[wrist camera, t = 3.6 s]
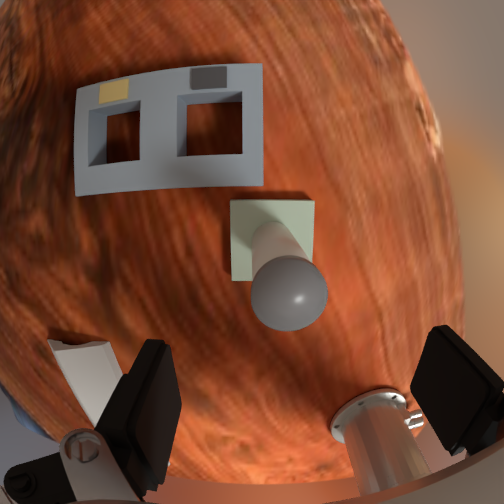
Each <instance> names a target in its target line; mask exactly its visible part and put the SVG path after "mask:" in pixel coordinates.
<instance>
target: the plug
mask: <svg viewBox="0 0 504 504" xmlns="http://www.w3.org/2000/svg"><path fill="white" fill-rule="evenodd" d="M327 298H328V289H327V284H326V282H325V279H324V278H323V276H322V274H321V273H320V271H319V270H318V269H317V267H316V266H315V265H314V264H313V263H311V261H310V260H309V258H308V257H307V255H306V254H305V252H304V251H303V249H302V248H301V246H300V245H299V243H298V242H297V240H296V239H295V237H294V236H293V235H292V233H291V232H290V230H289V229H288V228H287V227H286V226H285V225H283V224H282V223H279V222H274V221H271V222H266V223H263V224H262V225H260V226H259V227H258V228H257V229H256V230H255V232H254V233H253V236H252V285H251V304H252V308H253V311H254V313H255V314H256V316H257V317H258V319H259V320H260V321H261V322H262V323H264V324H265V325H266V326H268V327H270V328H272V329H275V330H279V331H295V330H299V329H302V328H304V327H307V326H308V325H310V324H311V323H313V322H314V321H315V320H316V319H317V318H318V317H319V316H320V315H321V313H322V312H323V310H324V308H325V306H326V303H327Z"/></svg>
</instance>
